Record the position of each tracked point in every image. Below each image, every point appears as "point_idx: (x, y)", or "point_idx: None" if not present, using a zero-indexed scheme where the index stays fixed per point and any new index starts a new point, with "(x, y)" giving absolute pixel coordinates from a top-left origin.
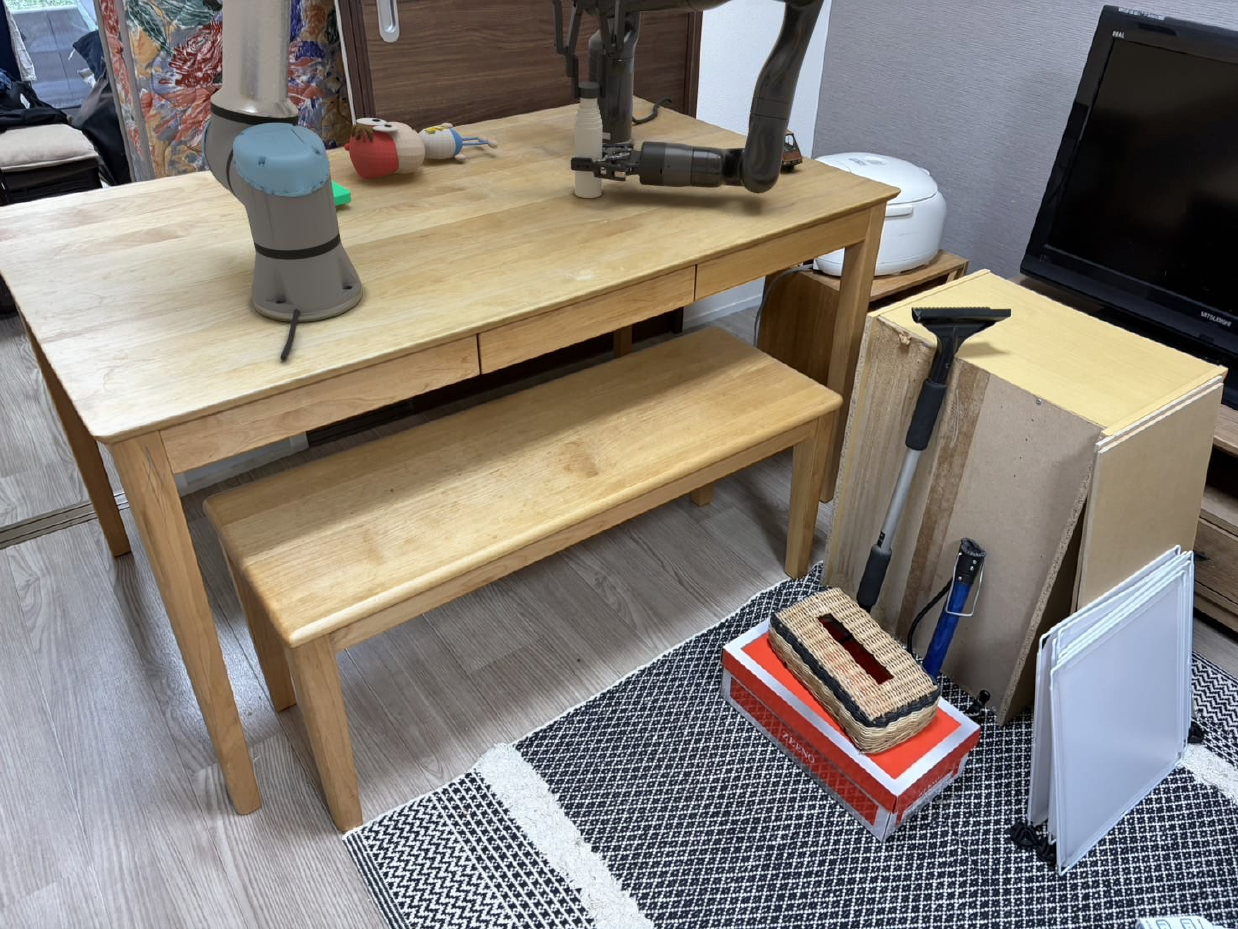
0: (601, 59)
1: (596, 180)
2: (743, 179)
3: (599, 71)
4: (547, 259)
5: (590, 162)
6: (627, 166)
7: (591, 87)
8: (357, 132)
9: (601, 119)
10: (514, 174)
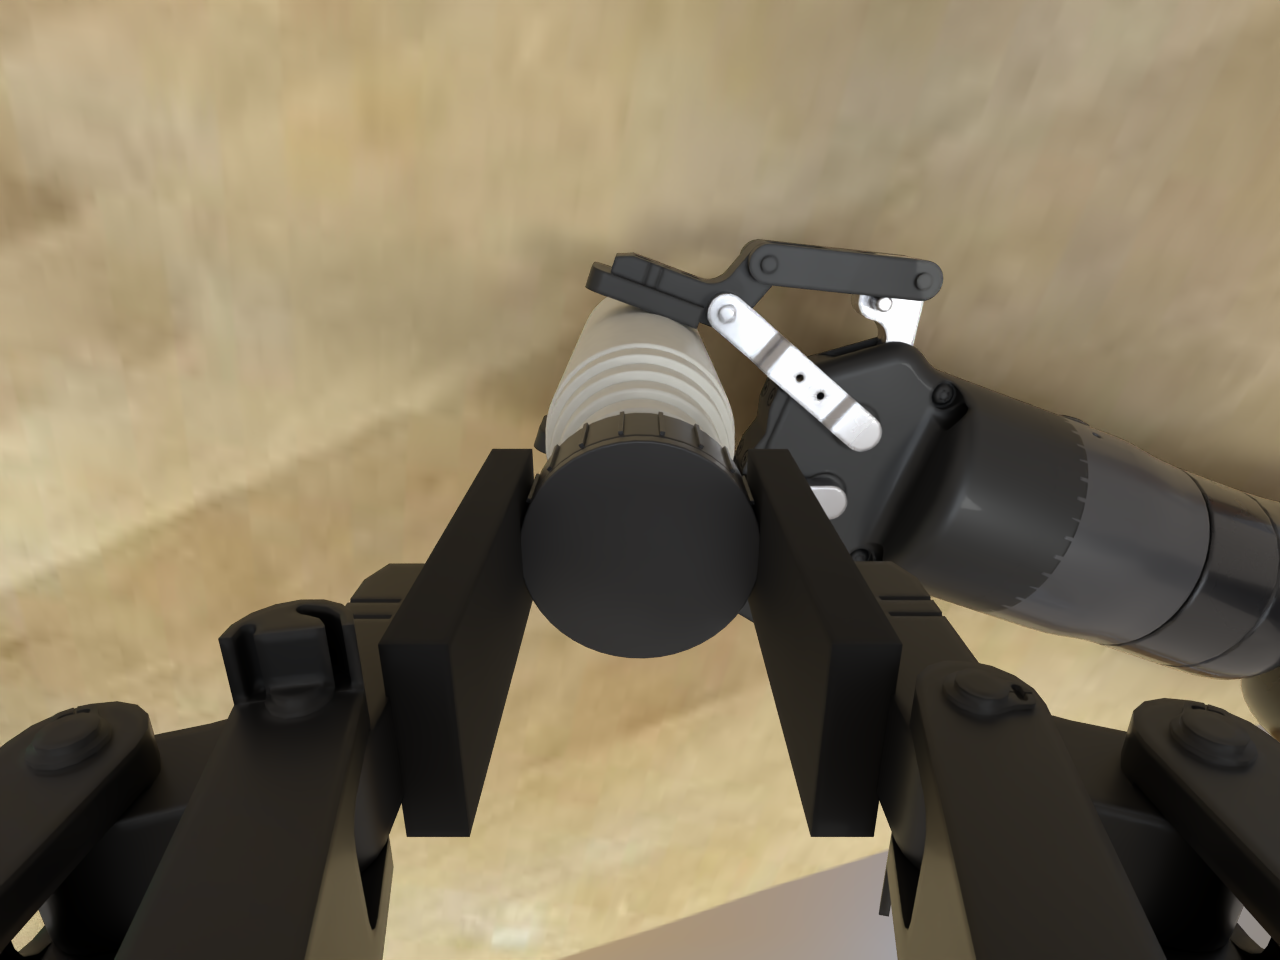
0: (808, 766)
1: None
2: (1254, 708)
3: (782, 563)
4: (421, 838)
5: None
6: None
7: (650, 629)
8: None
9: (733, 451)
10: (302, 10)
